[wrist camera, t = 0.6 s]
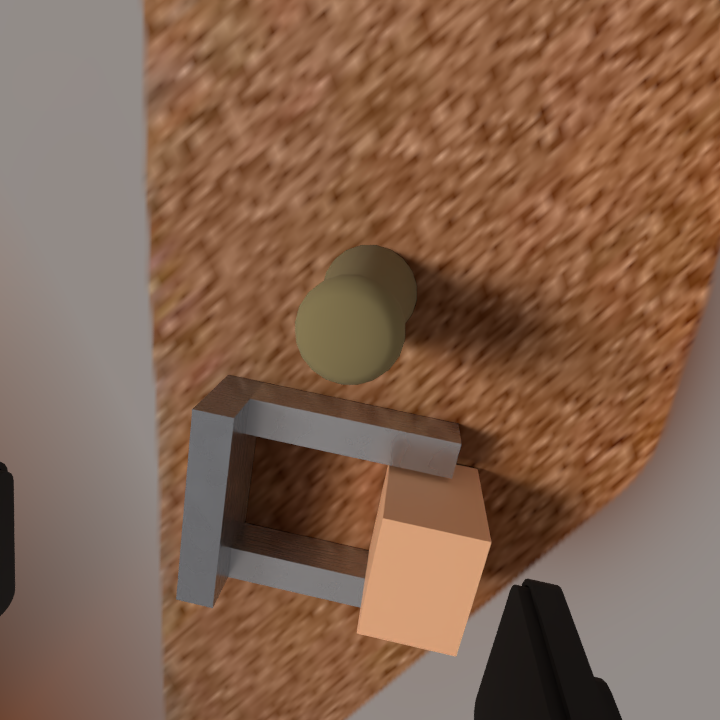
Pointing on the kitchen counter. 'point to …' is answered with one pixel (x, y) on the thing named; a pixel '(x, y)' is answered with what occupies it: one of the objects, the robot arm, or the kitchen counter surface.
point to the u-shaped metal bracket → (233, 476)
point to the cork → (357, 315)
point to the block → (425, 559)
